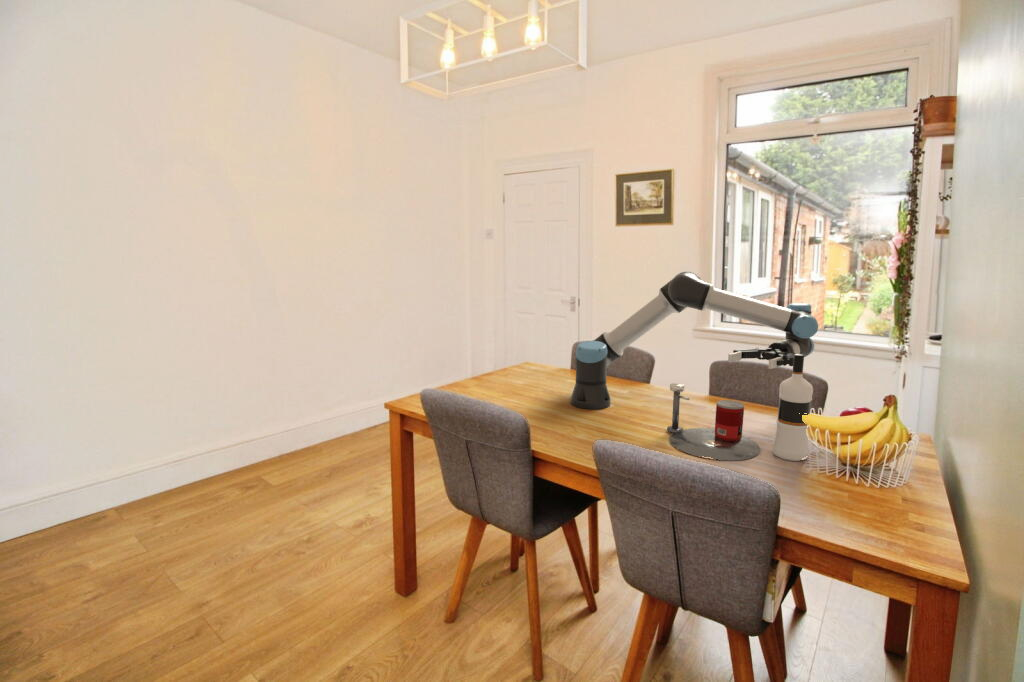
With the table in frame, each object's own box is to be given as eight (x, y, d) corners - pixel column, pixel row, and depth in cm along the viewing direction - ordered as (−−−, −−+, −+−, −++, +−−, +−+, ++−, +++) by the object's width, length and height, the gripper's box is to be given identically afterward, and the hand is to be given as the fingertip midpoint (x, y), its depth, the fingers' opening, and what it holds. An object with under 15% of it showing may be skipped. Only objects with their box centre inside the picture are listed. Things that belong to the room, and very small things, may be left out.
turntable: (656, 431, 174) (656, 430, 174) (731, 427, 177) (731, 426, 177) (692, 463, 148) (692, 462, 148) (779, 457, 152) (779, 456, 152)
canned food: (744, 442, 163) (746, 407, 161) (716, 440, 165) (718, 406, 163) (738, 433, 170) (741, 400, 168) (712, 432, 172) (714, 399, 170)
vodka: (766, 455, 153) (775, 354, 148) (779, 447, 160) (788, 349, 154) (800, 465, 147) (811, 359, 141) (813, 456, 153) (823, 354, 147)
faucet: (663, 430, 174) (665, 384, 171) (673, 427, 177) (675, 382, 174) (682, 436, 169) (684, 389, 166) (691, 433, 172) (694, 386, 169)
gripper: (820, 368, 172) (787, 379, 160) (748, 357, 192) (713, 366, 180) (822, 345, 171) (788, 355, 159) (748, 337, 191) (714, 345, 179)
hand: (748, 361), depth 170 cm, fingers open, 13 cm apart
